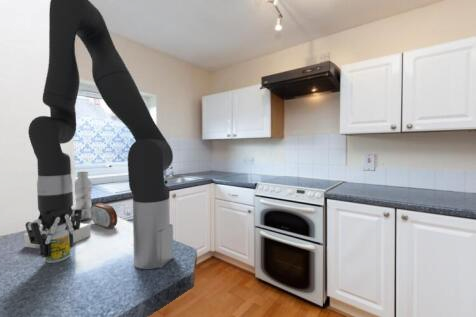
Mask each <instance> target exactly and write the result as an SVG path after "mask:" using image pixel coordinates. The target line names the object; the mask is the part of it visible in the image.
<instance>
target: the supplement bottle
mask: <svg viewBox="0 0 476 317" xmlns="http://www.w3.org/2000/svg"><path fill="white" fill-rule="evenodd" d="M65 228H66V223H64V224H62V225H59V226H57V227H56V230H55V233H54V234H53V235H52V237H51V240H50V243H51V256H50V257H48V258H45V262H46V263H49V264H53V263H54V264H55V263H60V262H62V261H65V260H66V259H68V258H70V256H71V247H70V240H69V231H68V230H66V229H65ZM49 230H50V229H47V231H49ZM45 238H46V237H45Z"/></svg>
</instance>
